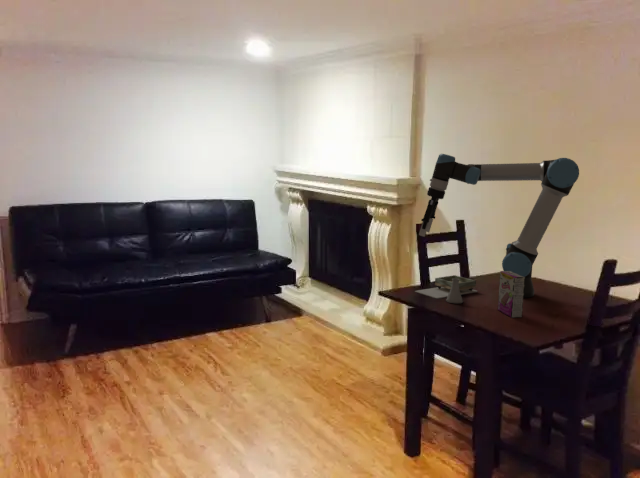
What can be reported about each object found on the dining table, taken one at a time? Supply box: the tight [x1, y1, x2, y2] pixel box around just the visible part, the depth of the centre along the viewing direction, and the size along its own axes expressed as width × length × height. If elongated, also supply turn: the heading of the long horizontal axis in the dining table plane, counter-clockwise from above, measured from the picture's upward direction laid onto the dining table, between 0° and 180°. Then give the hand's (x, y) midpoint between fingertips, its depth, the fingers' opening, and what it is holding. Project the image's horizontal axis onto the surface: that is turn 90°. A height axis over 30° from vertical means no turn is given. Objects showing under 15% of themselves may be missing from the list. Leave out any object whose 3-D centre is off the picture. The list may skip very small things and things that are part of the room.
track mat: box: [414, 287, 478, 300], centre depth 265 cm, size 14×26×1 cm, turn 123°
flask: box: [445, 278, 464, 304], centre depth 247 cm, size 7×7×10 cm
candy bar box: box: [497, 270, 525, 319], centre depth 230 cm, size 11×5×16 cm, turn 12°
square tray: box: [434, 274, 477, 290], centre depth 267 cm, size 13×13×5 cm
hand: (424, 233), depth 263 cm, fingers open, 13 cm apart
